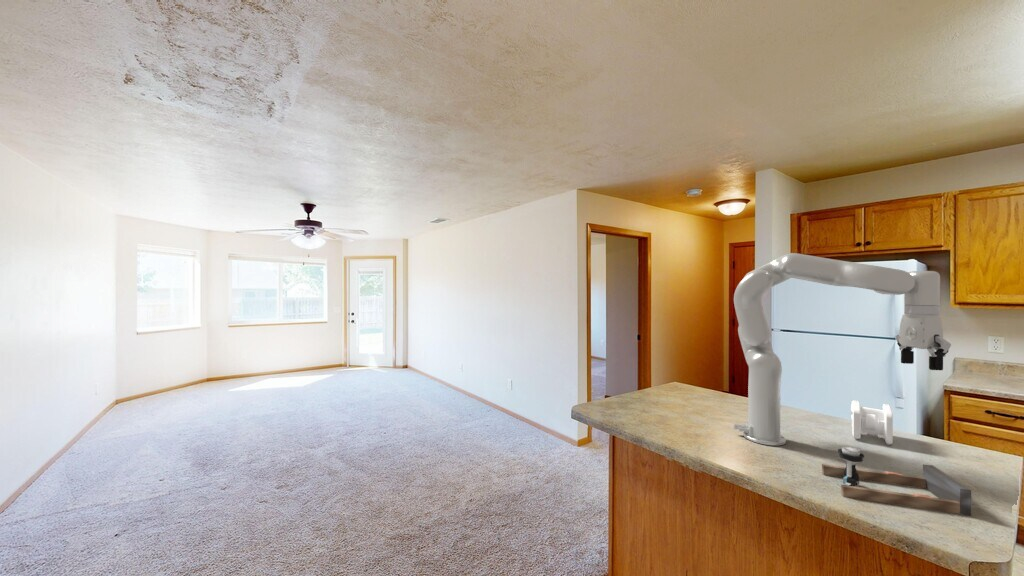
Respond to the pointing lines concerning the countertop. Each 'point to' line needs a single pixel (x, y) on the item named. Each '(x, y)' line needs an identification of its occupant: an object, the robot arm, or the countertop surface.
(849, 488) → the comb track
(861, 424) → the cable organizer
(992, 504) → the countertop surface
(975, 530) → the countertop surface
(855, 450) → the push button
